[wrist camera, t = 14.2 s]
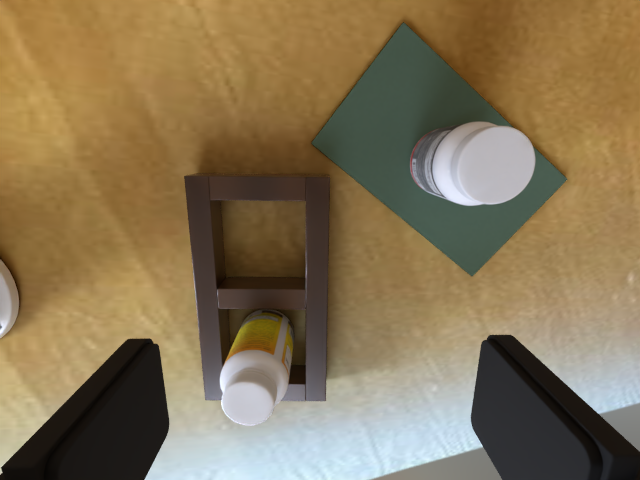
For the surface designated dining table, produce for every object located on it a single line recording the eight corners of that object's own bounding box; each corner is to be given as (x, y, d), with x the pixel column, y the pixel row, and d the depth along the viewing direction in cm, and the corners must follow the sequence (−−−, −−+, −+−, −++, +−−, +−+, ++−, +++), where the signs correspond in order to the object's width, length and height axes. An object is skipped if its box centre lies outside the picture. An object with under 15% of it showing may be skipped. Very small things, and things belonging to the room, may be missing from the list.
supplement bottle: (230, 327, 34) (193, 399, 24) (270, 296, 33) (250, 357, 23) (265, 364, 35) (244, 446, 26) (306, 334, 34) (300, 409, 25)
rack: (214, 380, 36) (205, 400, 33) (196, 173, 30) (184, 175, 27) (325, 381, 36) (325, 401, 33) (329, 174, 30) (329, 177, 27)
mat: (311, 143, 30) (311, 143, 29) (402, 23, 27) (403, 21, 27) (470, 275, 33) (472, 276, 32) (564, 178, 30) (567, 179, 30)
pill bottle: (484, 143, 29) (565, 140, 20) (453, 203, 30) (514, 227, 21) (425, 117, 29) (479, 100, 19) (397, 179, 30) (433, 192, 20)
